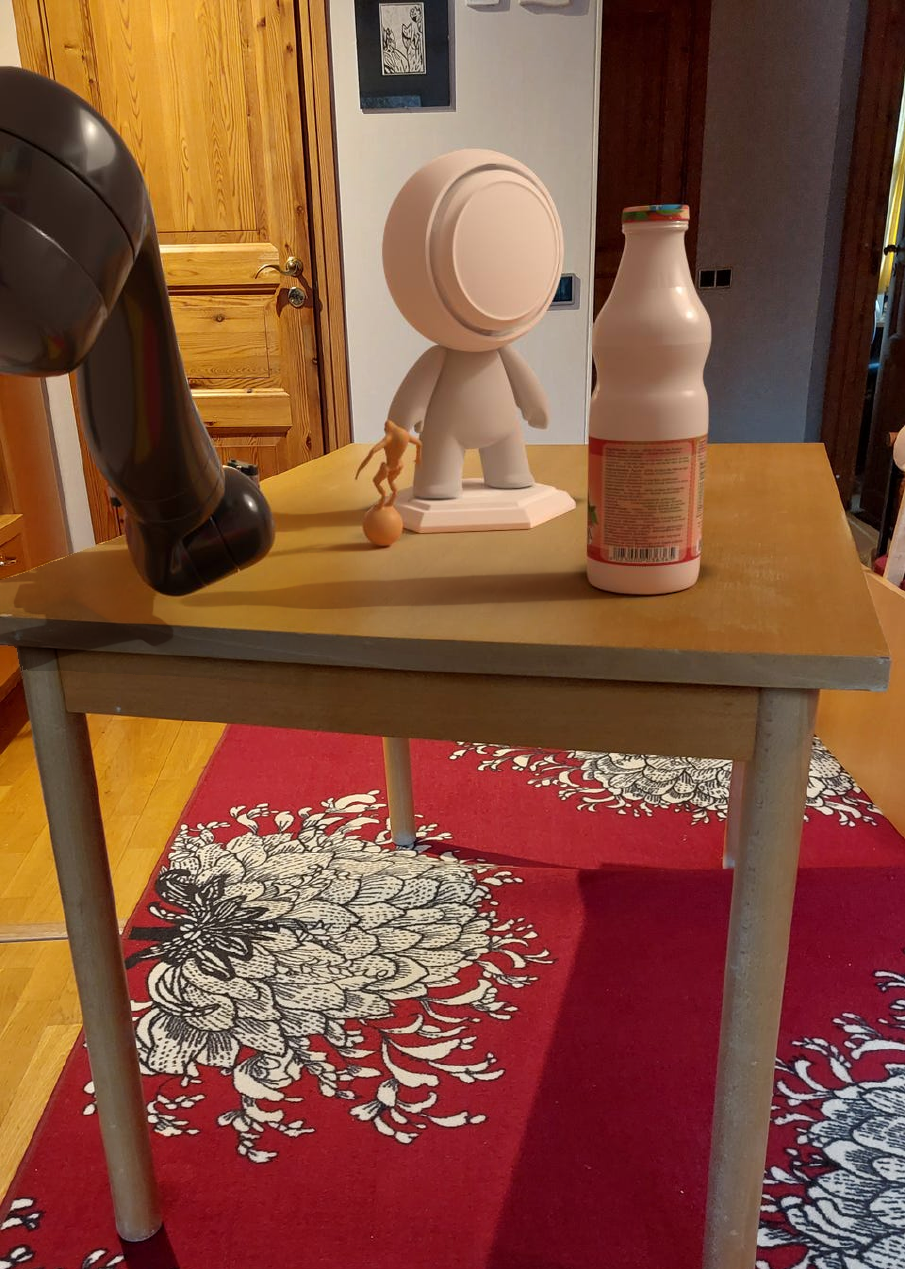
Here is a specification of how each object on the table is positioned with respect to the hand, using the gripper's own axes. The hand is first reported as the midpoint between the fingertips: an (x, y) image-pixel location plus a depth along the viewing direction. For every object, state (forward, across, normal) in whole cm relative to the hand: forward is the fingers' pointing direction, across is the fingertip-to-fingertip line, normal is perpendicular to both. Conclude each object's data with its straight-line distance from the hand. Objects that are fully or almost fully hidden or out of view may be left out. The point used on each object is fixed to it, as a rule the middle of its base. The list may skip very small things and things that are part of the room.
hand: (180, 471), depth 109 cm
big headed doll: (+5, +31, -8) cm, 33 cm away
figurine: (-8, +19, -8) cm, 22 cm away
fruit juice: (-31, +36, -8) cm, 48 cm away
